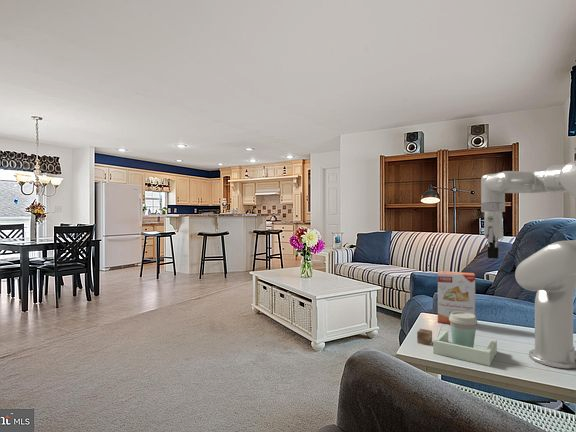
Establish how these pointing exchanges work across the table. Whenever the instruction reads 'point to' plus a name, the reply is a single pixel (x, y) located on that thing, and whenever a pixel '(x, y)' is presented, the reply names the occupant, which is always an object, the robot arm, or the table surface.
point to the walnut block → (424, 336)
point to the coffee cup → (463, 328)
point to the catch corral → (464, 350)
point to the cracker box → (455, 294)
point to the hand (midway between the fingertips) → (493, 257)
